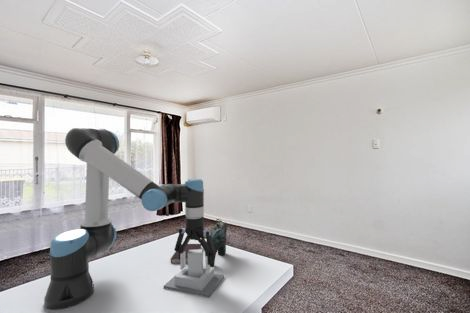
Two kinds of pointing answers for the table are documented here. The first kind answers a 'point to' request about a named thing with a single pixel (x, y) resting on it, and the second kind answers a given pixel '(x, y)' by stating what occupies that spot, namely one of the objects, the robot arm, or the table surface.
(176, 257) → the book
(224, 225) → the dark green figurine
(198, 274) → the skincare box
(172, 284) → the socket dock
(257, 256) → the table surface
